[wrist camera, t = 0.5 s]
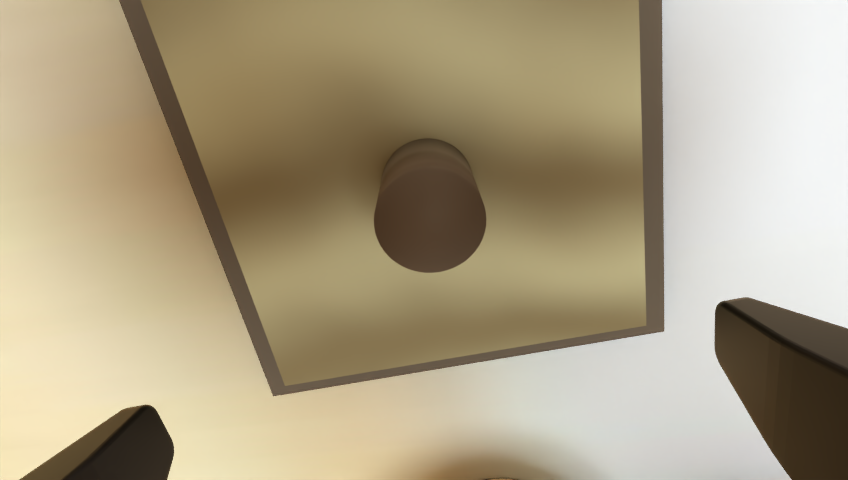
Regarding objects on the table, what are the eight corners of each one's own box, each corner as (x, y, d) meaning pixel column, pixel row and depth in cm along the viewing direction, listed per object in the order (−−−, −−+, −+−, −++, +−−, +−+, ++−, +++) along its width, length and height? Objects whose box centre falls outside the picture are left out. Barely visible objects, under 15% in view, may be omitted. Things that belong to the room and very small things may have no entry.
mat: (659, 325, 21) (664, 331, 20) (275, 389, 22) (273, 396, 21) (654, -153, 14) (660, -157, 14) (113, -31, 15) (106, -33, 15)
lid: (637, 314, 20) (692, 387, 16) (289, 373, 21) (259, 455, 17) (624, -106, 14) (703, -153, 10) (152, -3, 15) (61, -9, 11)
